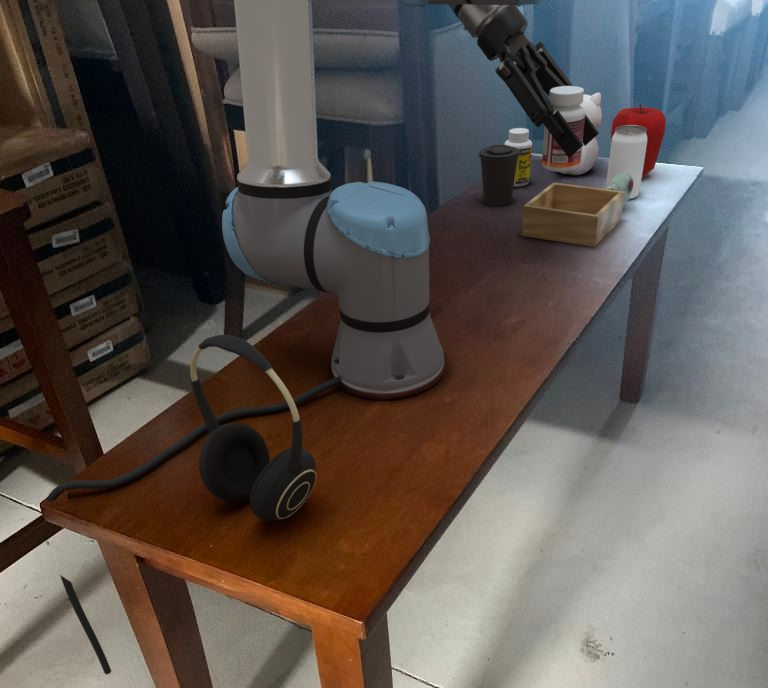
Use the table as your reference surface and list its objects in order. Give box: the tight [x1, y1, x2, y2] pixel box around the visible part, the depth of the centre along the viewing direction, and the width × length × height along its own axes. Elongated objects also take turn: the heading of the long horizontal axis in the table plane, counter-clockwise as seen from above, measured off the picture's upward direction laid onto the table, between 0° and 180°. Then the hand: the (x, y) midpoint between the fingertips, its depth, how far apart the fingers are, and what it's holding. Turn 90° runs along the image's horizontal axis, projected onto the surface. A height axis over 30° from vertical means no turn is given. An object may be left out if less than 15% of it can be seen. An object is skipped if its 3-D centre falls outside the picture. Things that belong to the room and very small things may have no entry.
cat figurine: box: [559, 92, 603, 176], centre depth 159 cm, size 9×12×15 cm
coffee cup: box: [477, 144, 521, 207], centre depth 150 cm, size 8×8×10 cm
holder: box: [521, 182, 625, 248], centre depth 138 cm, size 14×14×5 cm
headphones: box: [189, 334, 317, 522], centre depth 78 cm, size 9×15×20 cm, turn 53°
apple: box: [610, 103, 667, 178], centre depth 155 cm, size 10×10×14 cm
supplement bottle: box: [503, 127, 533, 188], centre depth 157 cm, size 6×6×10 cm
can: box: [605, 125, 647, 201], centre depth 147 cm, size 6×6×12 cm
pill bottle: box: [541, 85, 585, 173], centre depth 122 cm, size 6×6×11 cm
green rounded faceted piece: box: [605, 173, 633, 206], centre depth 143 cm, size 8×4×7 cm, turn 142°
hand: (584, 145), depth 122 cm, fingers closed on pill bottle, 6 cm apart
